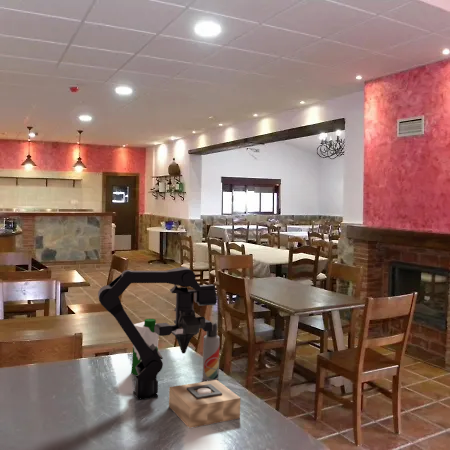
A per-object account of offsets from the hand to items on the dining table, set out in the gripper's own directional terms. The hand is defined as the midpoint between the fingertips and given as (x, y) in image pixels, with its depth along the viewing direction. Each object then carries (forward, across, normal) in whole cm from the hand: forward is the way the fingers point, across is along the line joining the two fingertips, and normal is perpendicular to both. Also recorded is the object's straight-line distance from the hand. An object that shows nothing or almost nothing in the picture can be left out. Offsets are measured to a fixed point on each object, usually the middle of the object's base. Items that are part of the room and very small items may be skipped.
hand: (183, 353), depth 160 cm
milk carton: (+13, -6, +22) cm, 26 cm away
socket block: (+13, 0, -17) cm, 21 cm away
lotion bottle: (+13, +14, +8) cm, 21 cm away
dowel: (+12, 0, -17) cm, 21 cm away
